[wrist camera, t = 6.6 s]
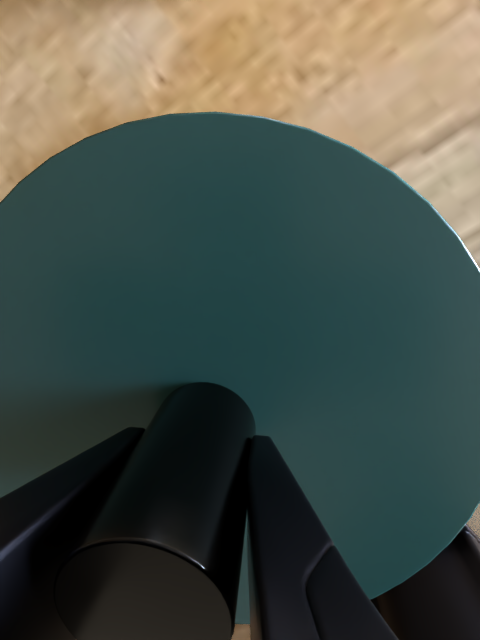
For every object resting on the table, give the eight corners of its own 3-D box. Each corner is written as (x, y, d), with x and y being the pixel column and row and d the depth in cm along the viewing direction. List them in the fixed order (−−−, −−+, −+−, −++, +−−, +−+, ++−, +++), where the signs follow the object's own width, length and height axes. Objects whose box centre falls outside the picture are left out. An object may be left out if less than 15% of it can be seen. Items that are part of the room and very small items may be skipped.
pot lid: (229, -40, 7) (78, -812, 2) (597, 444, 9) (1037, 759, 4) (-106, 370, 11) (-467, 515, 6) (205, 645, 13) (155, 938, 8)
